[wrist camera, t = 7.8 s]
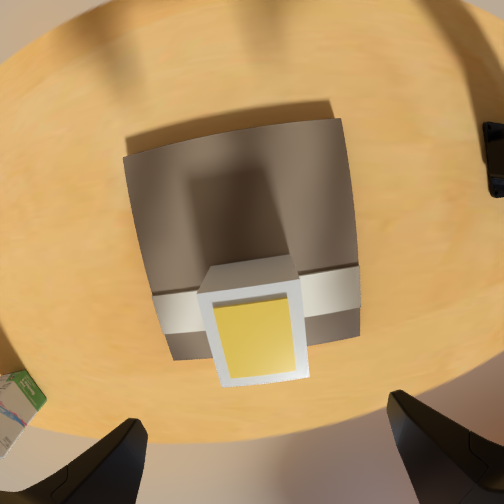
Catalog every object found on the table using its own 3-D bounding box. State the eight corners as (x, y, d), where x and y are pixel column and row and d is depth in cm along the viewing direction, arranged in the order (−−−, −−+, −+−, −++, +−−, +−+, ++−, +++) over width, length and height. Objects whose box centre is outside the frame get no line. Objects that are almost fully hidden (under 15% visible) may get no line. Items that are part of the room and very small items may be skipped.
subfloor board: (335, 121, 17) (341, 117, 15) (355, 328, 21) (360, 337, 19) (130, 158, 18) (121, 157, 16) (177, 352, 21) (173, 362, 20)
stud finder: (290, 254, 18) (300, 280, 13) (299, 336, 19) (309, 379, 15) (210, 266, 18) (195, 295, 13) (228, 346, 19) (221, 389, 15)
